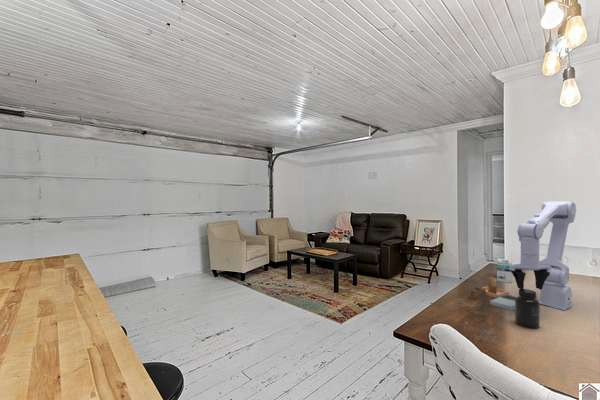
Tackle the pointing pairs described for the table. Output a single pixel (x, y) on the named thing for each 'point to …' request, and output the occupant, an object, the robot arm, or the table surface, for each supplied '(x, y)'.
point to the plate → (503, 303)
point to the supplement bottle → (527, 309)
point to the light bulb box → (504, 270)
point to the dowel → (492, 285)
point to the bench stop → (477, 293)
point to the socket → (507, 297)
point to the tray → (499, 293)
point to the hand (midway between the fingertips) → (529, 288)
